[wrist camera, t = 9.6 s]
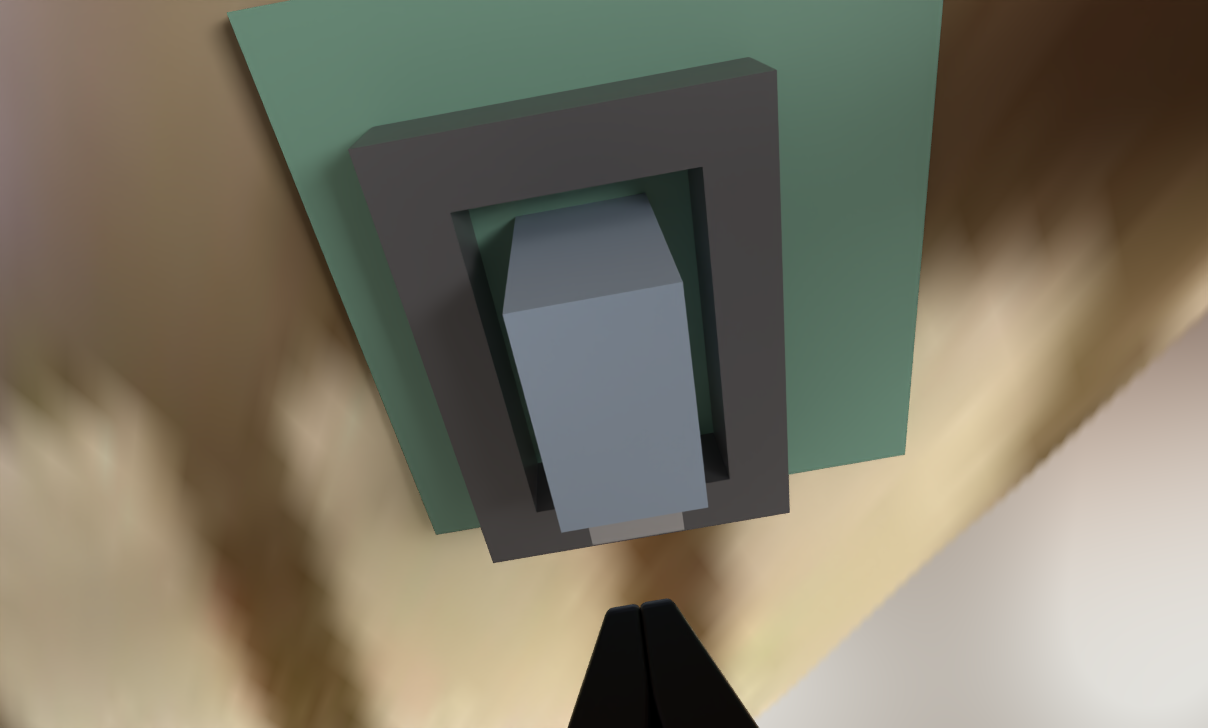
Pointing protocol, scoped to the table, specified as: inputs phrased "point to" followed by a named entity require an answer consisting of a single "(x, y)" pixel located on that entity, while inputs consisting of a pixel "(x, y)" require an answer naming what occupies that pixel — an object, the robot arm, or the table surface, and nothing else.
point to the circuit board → (609, 54)
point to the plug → (606, 367)
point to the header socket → (569, 162)
